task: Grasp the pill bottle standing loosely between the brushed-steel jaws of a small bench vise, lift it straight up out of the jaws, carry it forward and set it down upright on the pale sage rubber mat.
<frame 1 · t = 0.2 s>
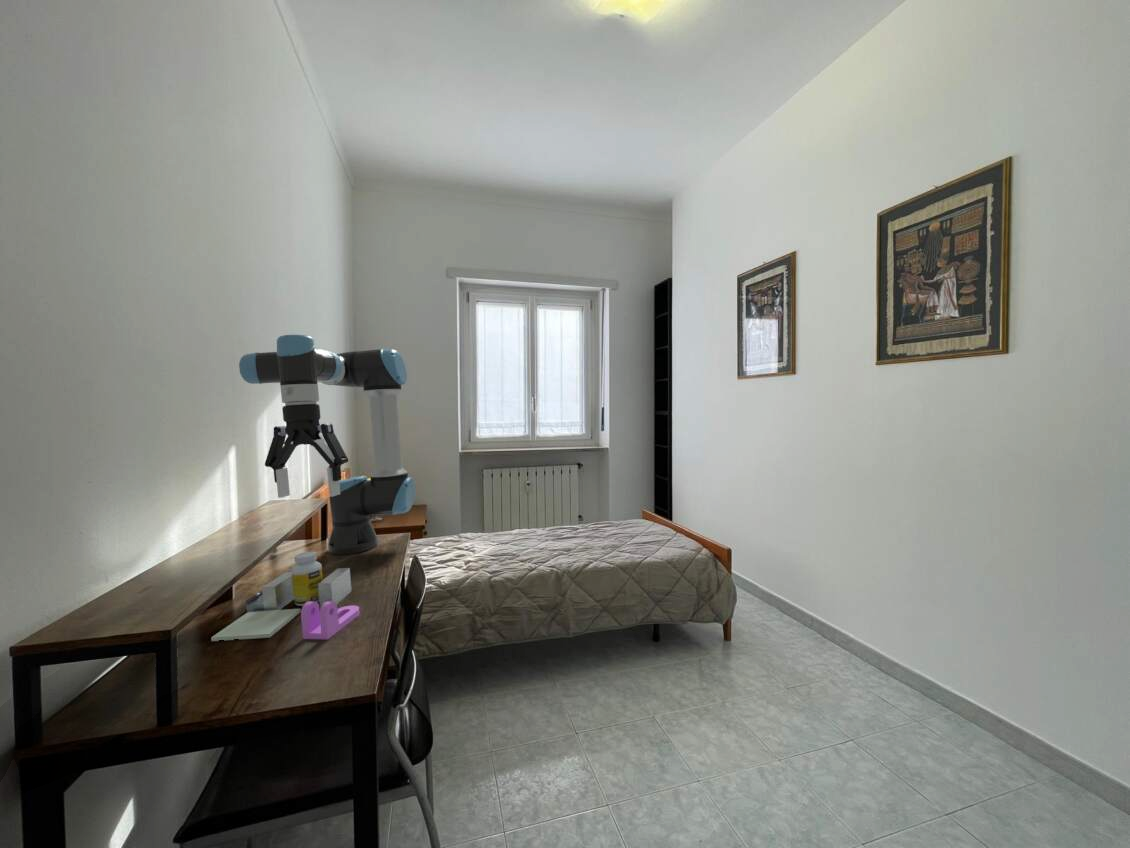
hand: (309, 496, 112), 27 cm above the table, fingers open, 13 cm apart
pill bottle: (309, 602, 119), on the table
vise: (309, 601, 119), on the table
bracket: (335, 625, 105), on the table
mat: (258, 625, 107), on the table
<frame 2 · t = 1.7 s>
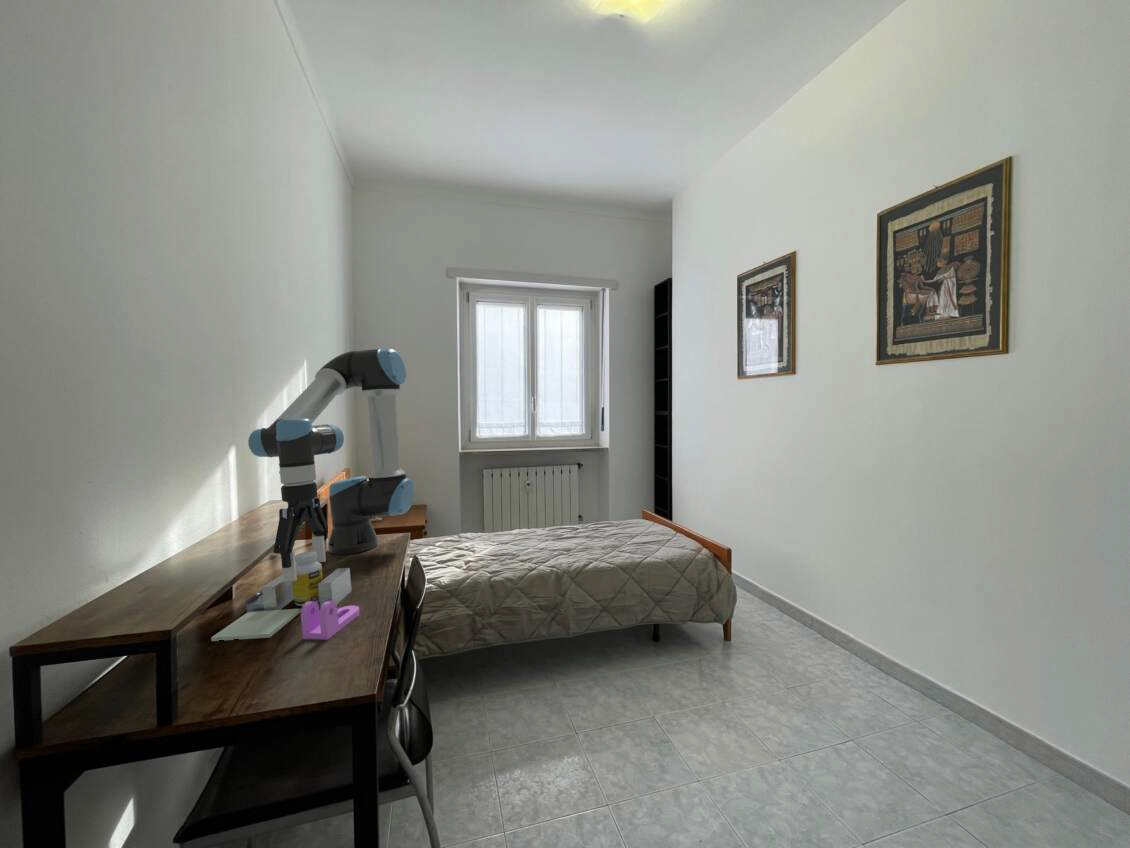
hand: (305, 570, 118), 8 cm above the table, fingers open, 13 cm apart
nothing on the table moved.
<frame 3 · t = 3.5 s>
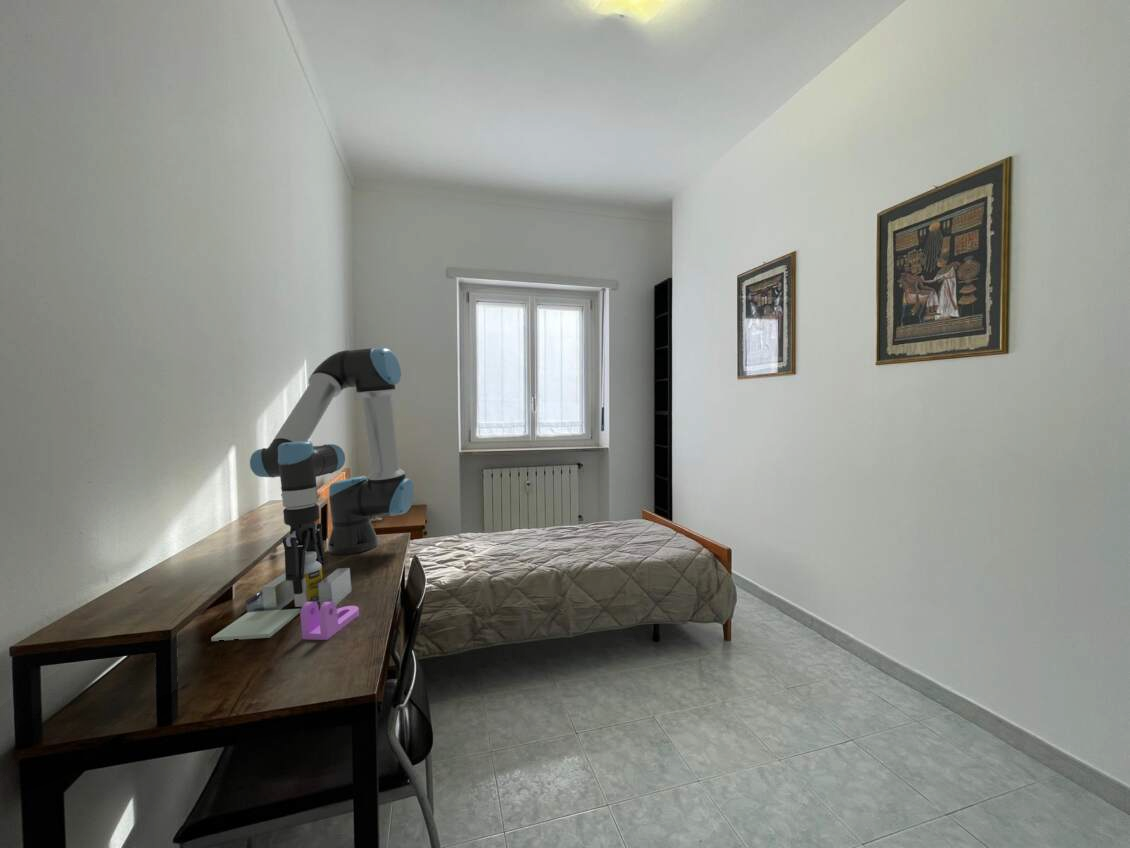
hand: (309, 599, 119), 0 cm above the table, fingers closed on pill bottle, 6 cm apart
pill bottle: (309, 602, 119), on the table, touching gripper
everything else where it was.
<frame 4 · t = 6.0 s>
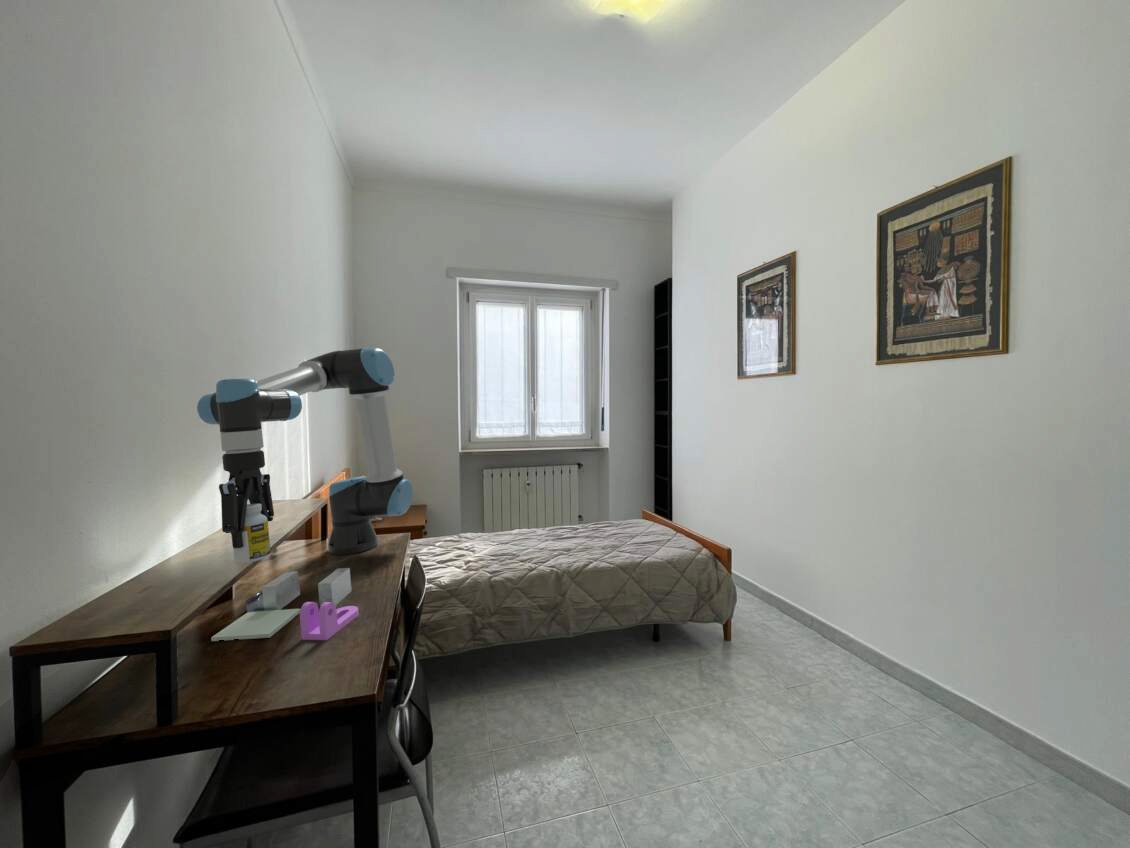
hand: (253, 556, 106), 15 cm above the table, fingers closed on pill bottle, 6 cm apart
pill bottle: (253, 559, 106), point 15 cm above the table, touching gripper
everything else where it was.
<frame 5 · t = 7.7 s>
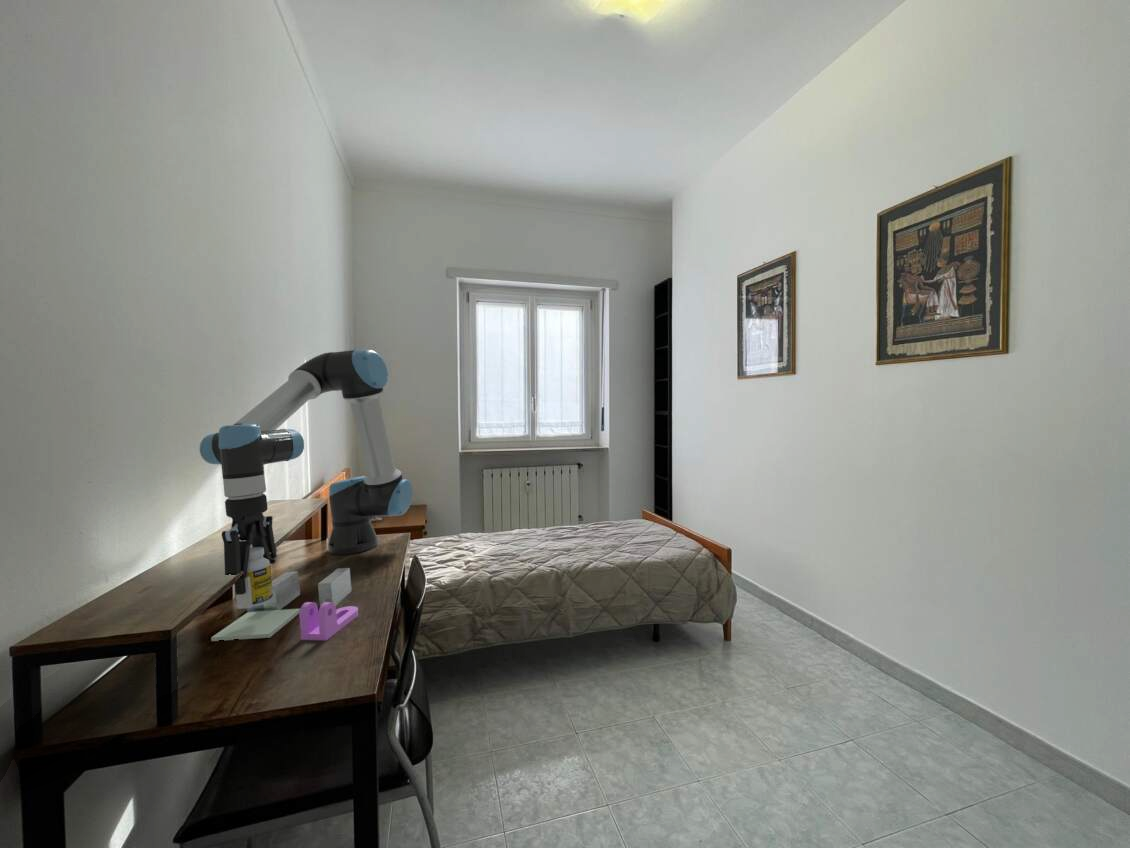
hand: (255, 600, 106), 6 cm above the table, fingers closed on pill bottle, 6 cm apart
pill bottle: (256, 603, 106), point 5 cm above the table, touching gripper
everything else where it was.
when the fingers open (3 cm above the table, at t = 9.0 s): pill bottle drops 2 cm, resting on mat.
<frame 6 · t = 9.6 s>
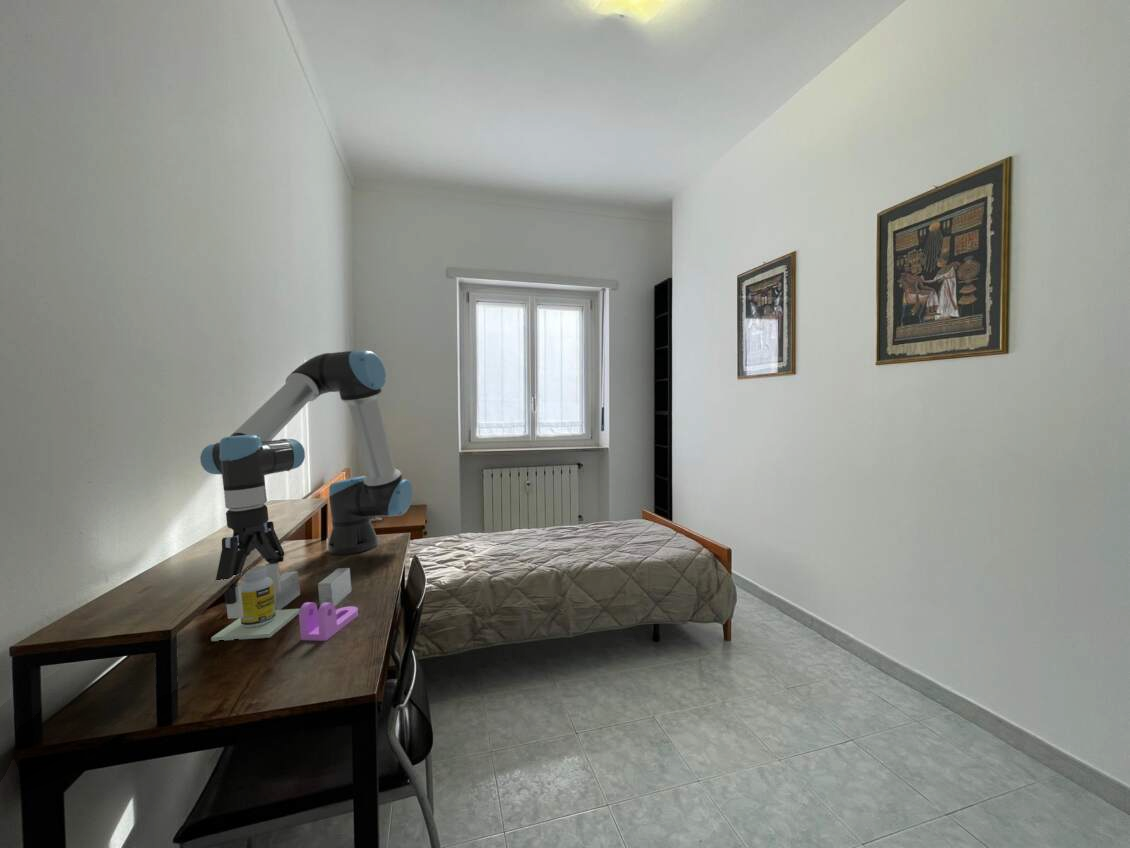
hand: (256, 603, 106), 5 cm above the table, fingers open, 13 cm apart
pill bottle: (259, 622, 107), point 1 cm above the table, touching mat
everything else where it was.
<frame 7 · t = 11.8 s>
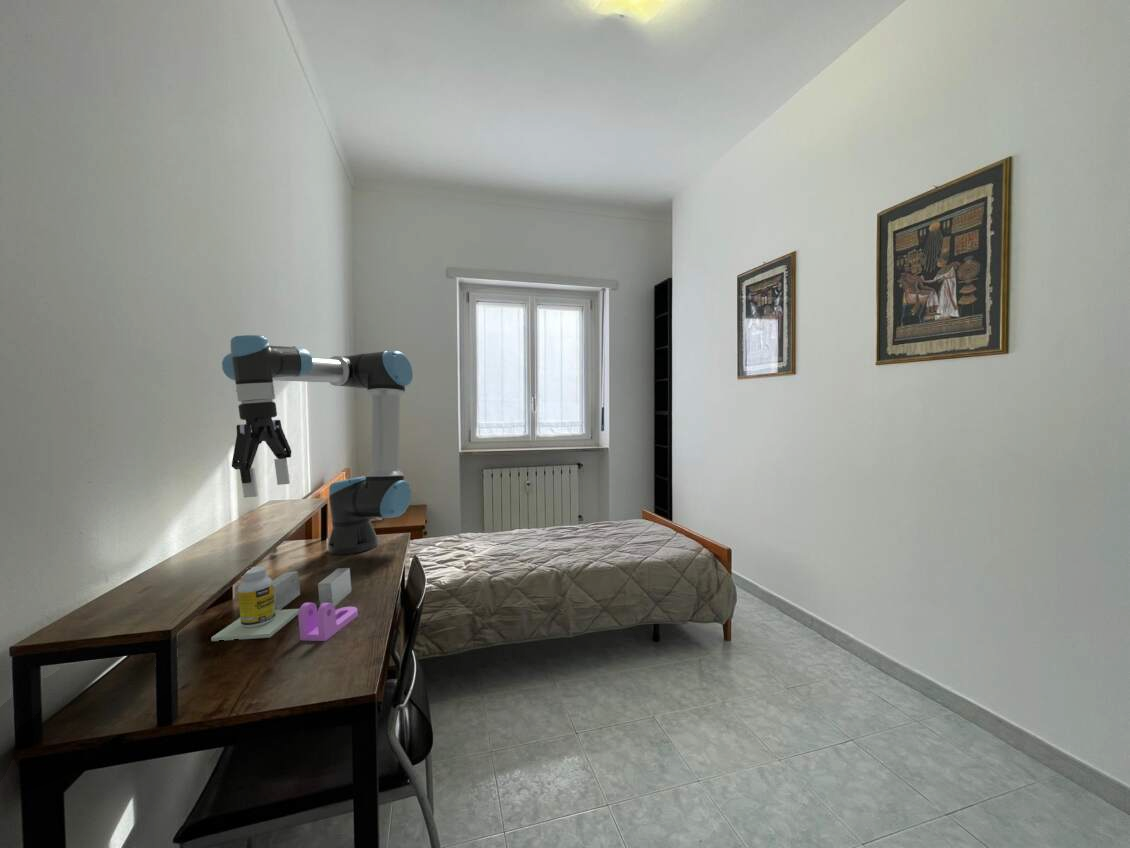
hand: (268, 490, 117), 28 cm above the table, fingers open, 13 cm apart
nothing on the table moved.
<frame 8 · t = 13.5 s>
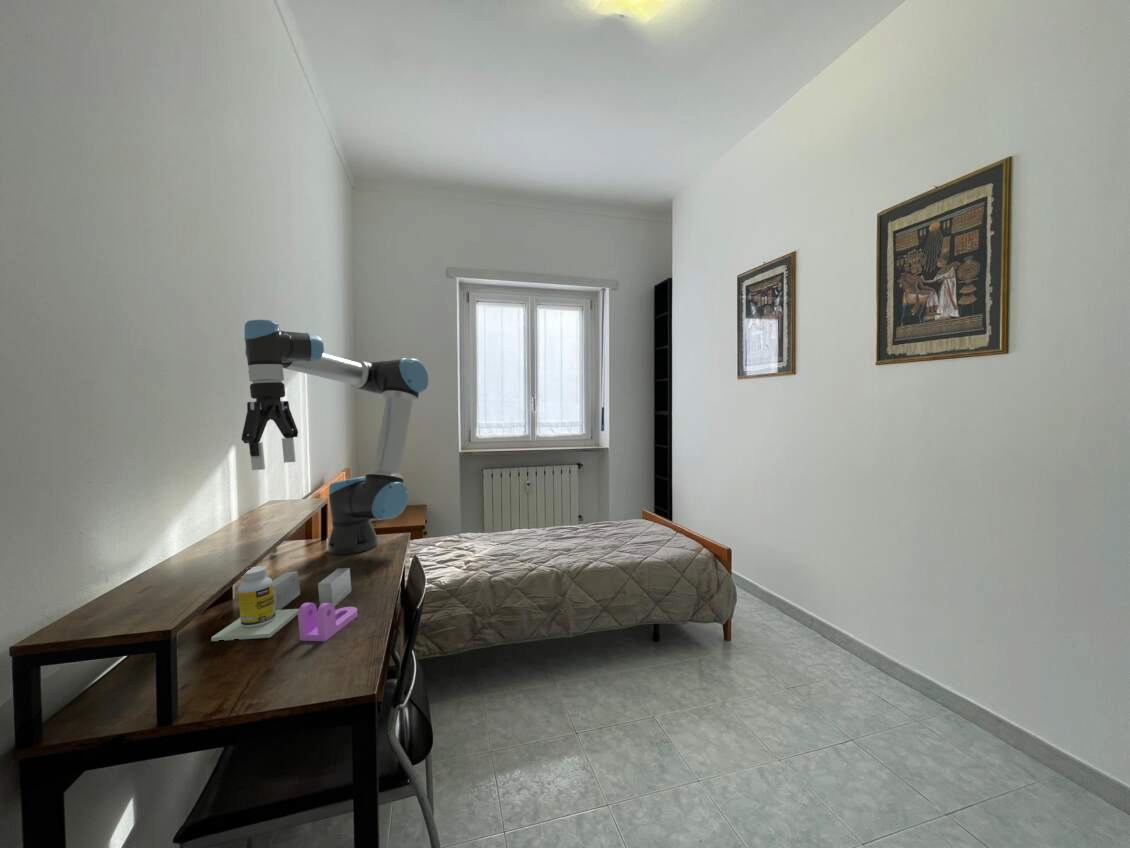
hand: (275, 465, 125), 33 cm above the table, fingers open, 13 cm apart
nothing on the table moved.
at the end: pill bottle inside the target area on the mat (0.2 cm from its centre), point 0.6 cm above the mat's base; pill bottle tilted 0°; the gripper is holding nothing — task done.
